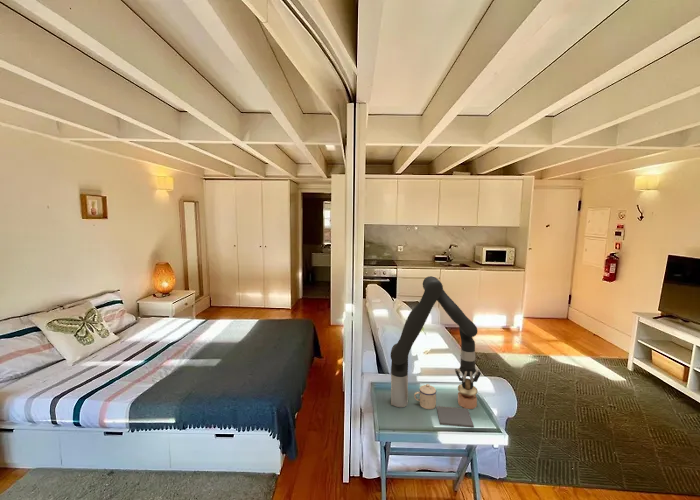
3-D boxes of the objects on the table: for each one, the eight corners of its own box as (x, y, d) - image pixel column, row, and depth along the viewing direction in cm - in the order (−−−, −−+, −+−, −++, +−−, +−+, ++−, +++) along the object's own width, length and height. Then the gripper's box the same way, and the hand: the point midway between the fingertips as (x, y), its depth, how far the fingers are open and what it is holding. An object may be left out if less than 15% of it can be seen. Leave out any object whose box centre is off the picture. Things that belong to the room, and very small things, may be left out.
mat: (439, 424, 153) (440, 422, 153) (436, 407, 166) (436, 406, 166) (473, 427, 150) (473, 425, 150) (467, 410, 164) (467, 408, 164)
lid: (459, 394, 165) (459, 383, 164) (456, 385, 174) (456, 374, 174) (479, 396, 163) (479, 385, 163) (474, 386, 173) (474, 375, 172)
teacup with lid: (434, 400, 173) (434, 380, 172) (437, 410, 164) (438, 389, 163) (412, 399, 174) (413, 380, 173) (415, 409, 165) (415, 388, 164)
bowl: (460, 408, 166) (460, 399, 165) (456, 398, 175) (457, 390, 174) (477, 409, 164) (478, 400, 164) (473, 399, 173) (474, 391, 173)
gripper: (455, 360, 165) (455, 390, 166) (483, 361, 162) (482, 392, 164) (453, 354, 172) (453, 383, 174) (479, 355, 170) (479, 385, 171)
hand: (467, 387), depth 169 cm, fingers closed on lid, 3 cm apart
